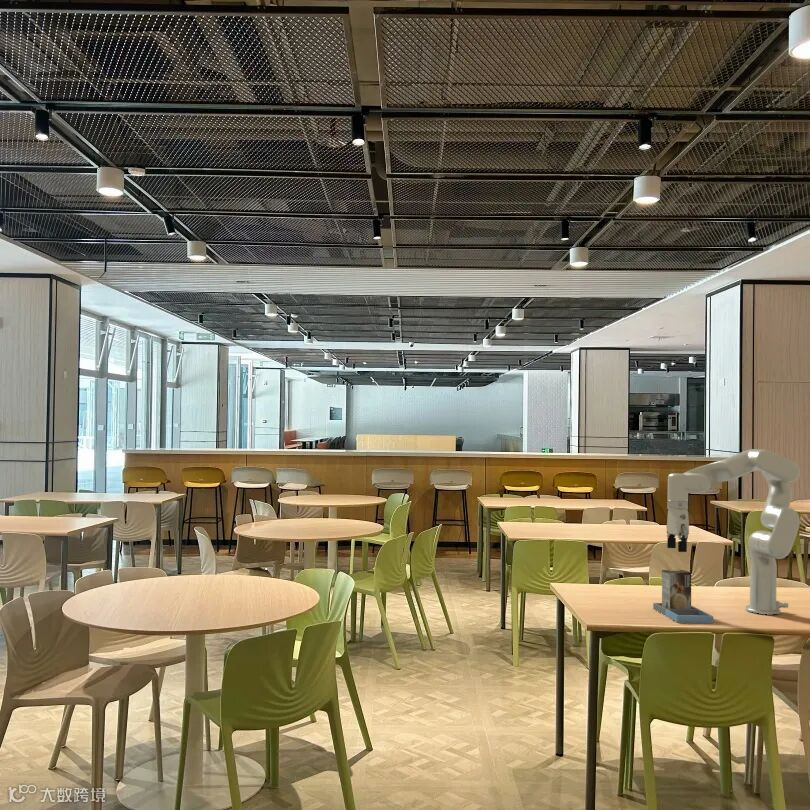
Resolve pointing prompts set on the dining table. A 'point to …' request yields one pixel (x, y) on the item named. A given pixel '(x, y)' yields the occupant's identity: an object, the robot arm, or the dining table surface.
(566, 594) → the dining table surface
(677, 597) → the coffee box
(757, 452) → the robot arm
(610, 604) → the dining table surface
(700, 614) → the bay tray
